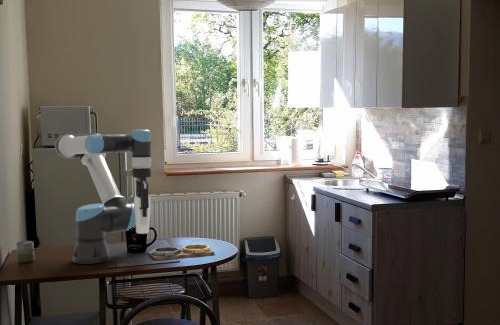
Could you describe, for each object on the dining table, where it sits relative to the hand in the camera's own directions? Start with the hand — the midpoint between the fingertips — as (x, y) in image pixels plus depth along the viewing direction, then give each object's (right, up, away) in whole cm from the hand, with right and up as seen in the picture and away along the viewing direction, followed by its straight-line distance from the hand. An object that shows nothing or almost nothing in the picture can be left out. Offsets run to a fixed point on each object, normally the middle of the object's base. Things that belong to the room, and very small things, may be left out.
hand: (142, 223), depth 240 cm
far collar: (+20, -14, +16) cm, 29 cm away
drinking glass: (0, -4, 0) cm, 4 cm away
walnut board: (+14, -15, +14) cm, 25 cm away
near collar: (+8, -14, +11) cm, 20 cm away
